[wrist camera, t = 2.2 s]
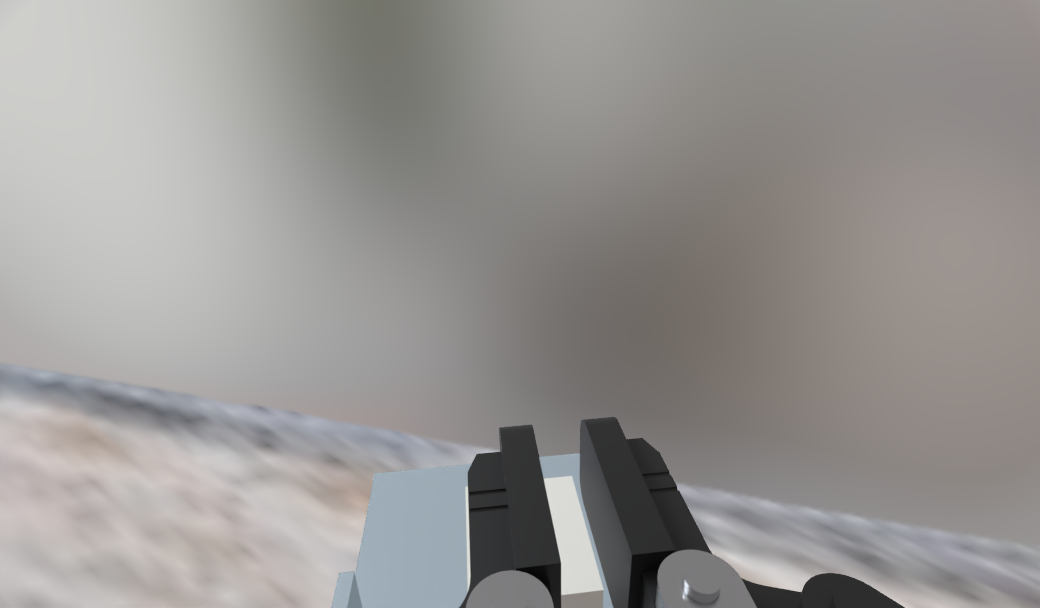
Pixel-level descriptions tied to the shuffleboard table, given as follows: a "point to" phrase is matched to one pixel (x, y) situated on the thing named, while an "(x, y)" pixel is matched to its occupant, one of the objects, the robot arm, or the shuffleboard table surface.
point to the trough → (426, 539)
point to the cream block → (567, 546)
